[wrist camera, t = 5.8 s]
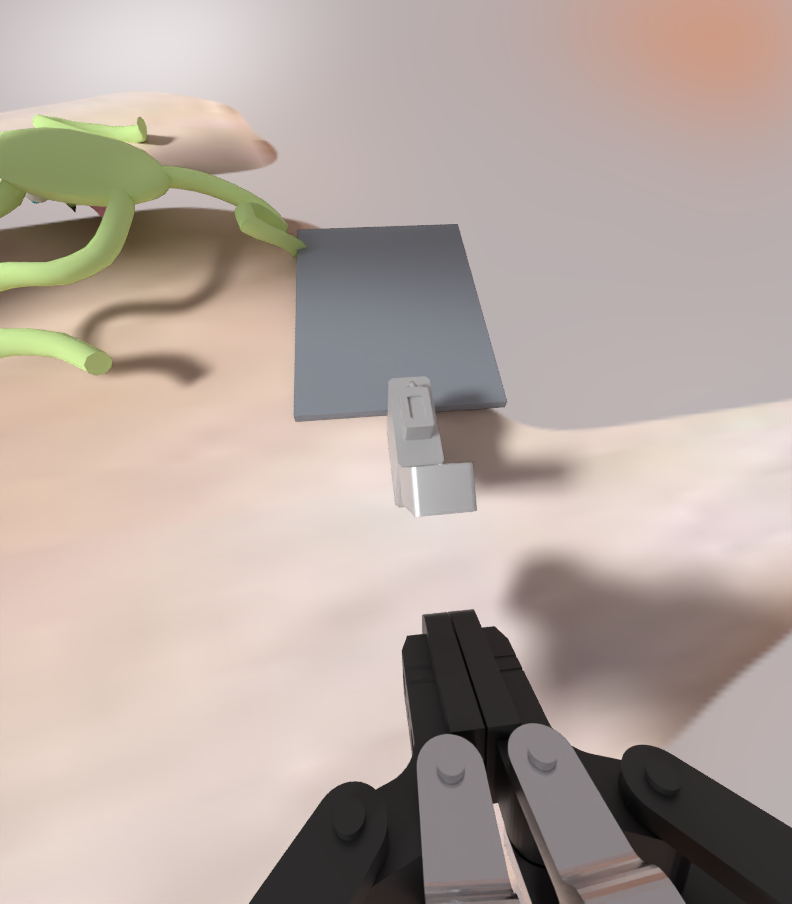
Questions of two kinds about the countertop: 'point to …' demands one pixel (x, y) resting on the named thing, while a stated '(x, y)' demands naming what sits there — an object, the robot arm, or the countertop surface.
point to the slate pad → (388, 321)
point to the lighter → (423, 454)
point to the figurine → (99, 211)
